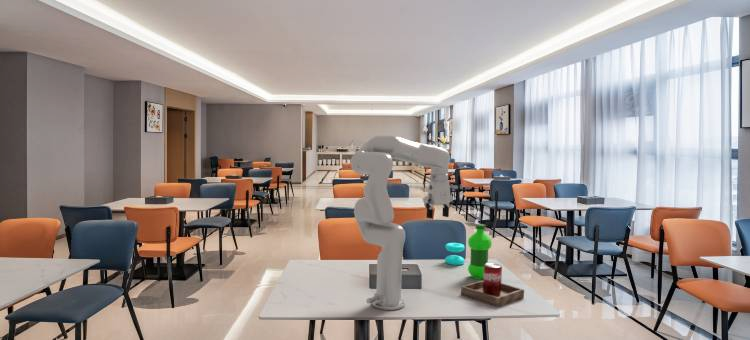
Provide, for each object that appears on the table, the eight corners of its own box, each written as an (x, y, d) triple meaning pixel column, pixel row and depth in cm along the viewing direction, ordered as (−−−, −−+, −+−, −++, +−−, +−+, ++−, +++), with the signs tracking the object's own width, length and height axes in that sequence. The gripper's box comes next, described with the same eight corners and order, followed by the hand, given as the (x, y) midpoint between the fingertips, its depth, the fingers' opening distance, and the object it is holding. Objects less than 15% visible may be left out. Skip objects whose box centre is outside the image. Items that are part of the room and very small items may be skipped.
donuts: (446, 241, 245) (465, 243, 243) (445, 260, 246) (464, 261, 243) (444, 245, 235) (464, 247, 233) (444, 264, 236) (463, 266, 234)
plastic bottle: (492, 276, 216) (494, 224, 215) (484, 282, 207) (486, 227, 206) (472, 273, 222) (474, 222, 220) (464, 278, 213) (465, 225, 211)
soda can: (501, 297, 184) (502, 268, 183) (482, 295, 185) (484, 266, 185) (500, 291, 191) (501, 263, 190) (482, 290, 192) (483, 262, 192)
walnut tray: (497, 307, 176) (497, 298, 175) (460, 294, 189) (461, 286, 189) (523, 298, 187) (524, 289, 187) (487, 286, 201) (487, 278, 201)
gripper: (430, 179, 190) (429, 220, 191) (459, 178, 201) (457, 217, 202) (418, 177, 196) (417, 217, 197) (446, 177, 207) (445, 215, 208)
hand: (437, 217), depth 200 cm, fingers open, 9 cm apart
